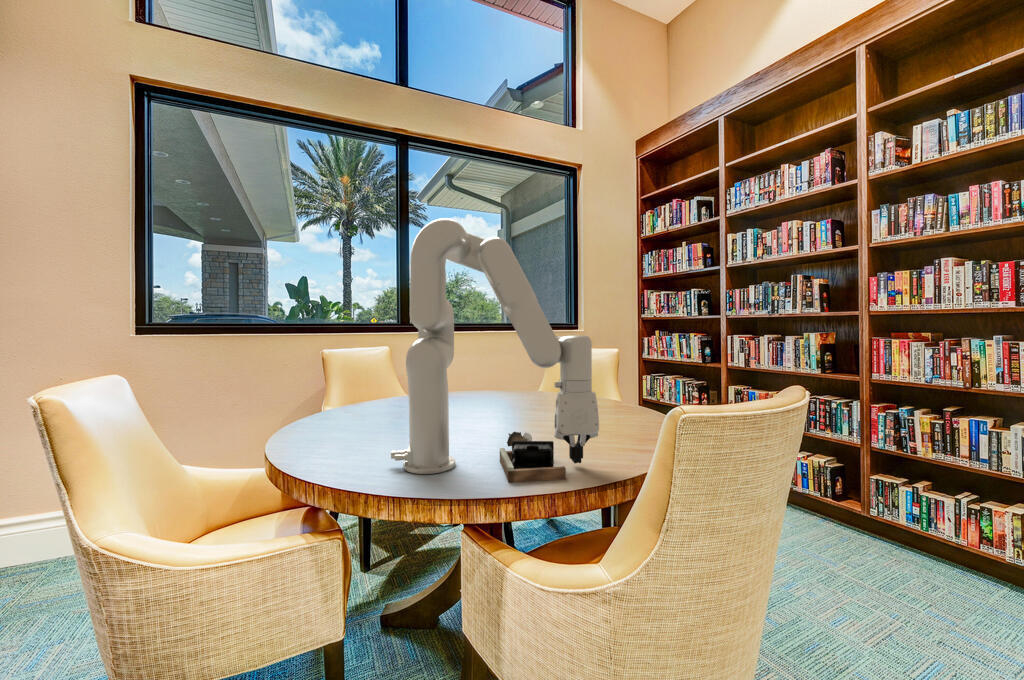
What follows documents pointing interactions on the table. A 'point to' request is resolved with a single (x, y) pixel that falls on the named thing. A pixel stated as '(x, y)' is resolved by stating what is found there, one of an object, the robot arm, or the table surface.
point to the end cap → (532, 454)
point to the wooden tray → (528, 470)
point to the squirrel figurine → (518, 437)
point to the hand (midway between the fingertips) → (576, 461)
